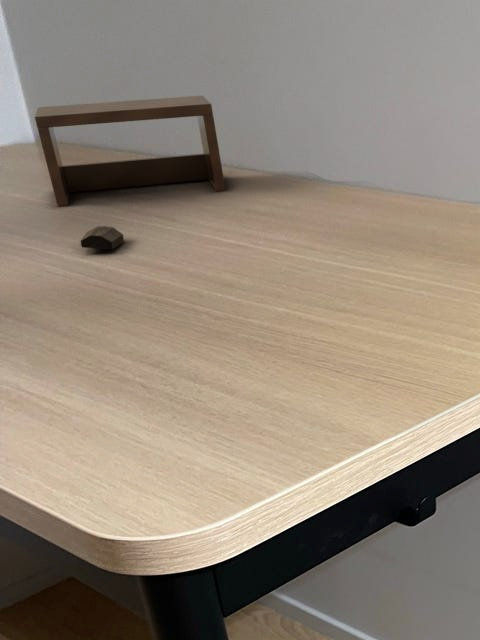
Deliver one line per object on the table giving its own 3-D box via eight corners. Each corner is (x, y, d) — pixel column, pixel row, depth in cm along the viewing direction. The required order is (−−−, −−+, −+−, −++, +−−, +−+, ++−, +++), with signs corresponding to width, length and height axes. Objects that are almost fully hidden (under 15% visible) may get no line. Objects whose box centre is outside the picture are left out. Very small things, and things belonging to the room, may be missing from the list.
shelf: (57, 206, 119) (34, 116, 114) (59, 191, 127) (37, 107, 121) (225, 190, 124) (211, 103, 118) (217, 177, 132) (203, 95, 126)
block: (81, 256, 98) (77, 236, 97) (89, 242, 103) (85, 223, 102) (119, 253, 98) (115, 233, 97) (125, 239, 103) (121, 220, 102)
